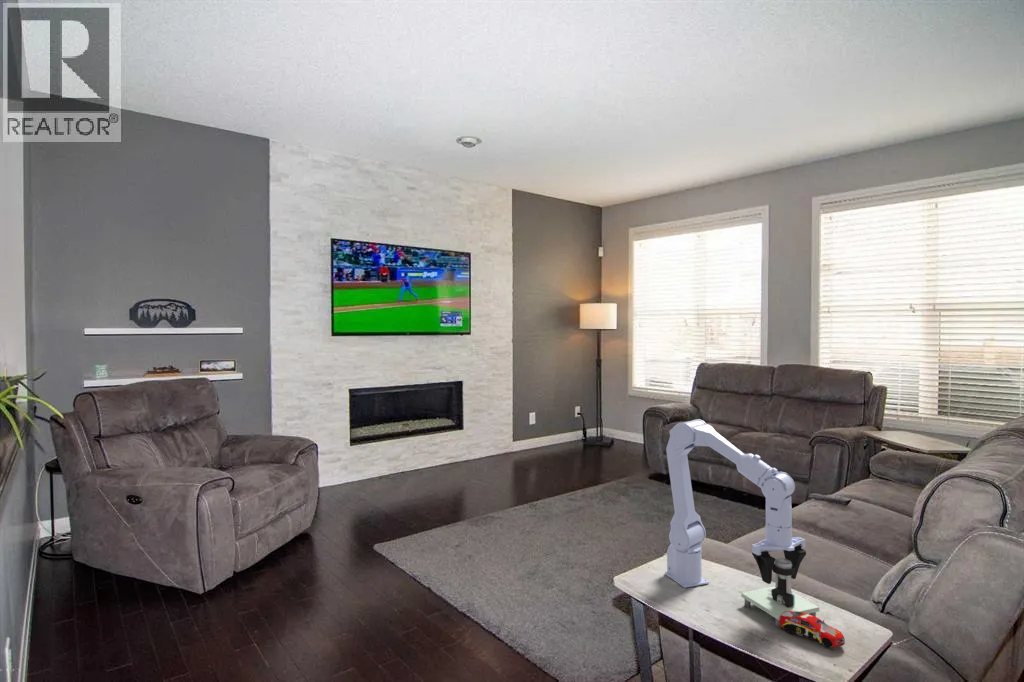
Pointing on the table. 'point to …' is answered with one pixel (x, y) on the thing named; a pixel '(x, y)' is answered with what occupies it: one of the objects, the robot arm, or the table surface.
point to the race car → (811, 628)
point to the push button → (783, 582)
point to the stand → (773, 607)
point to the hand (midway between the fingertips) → (779, 579)
